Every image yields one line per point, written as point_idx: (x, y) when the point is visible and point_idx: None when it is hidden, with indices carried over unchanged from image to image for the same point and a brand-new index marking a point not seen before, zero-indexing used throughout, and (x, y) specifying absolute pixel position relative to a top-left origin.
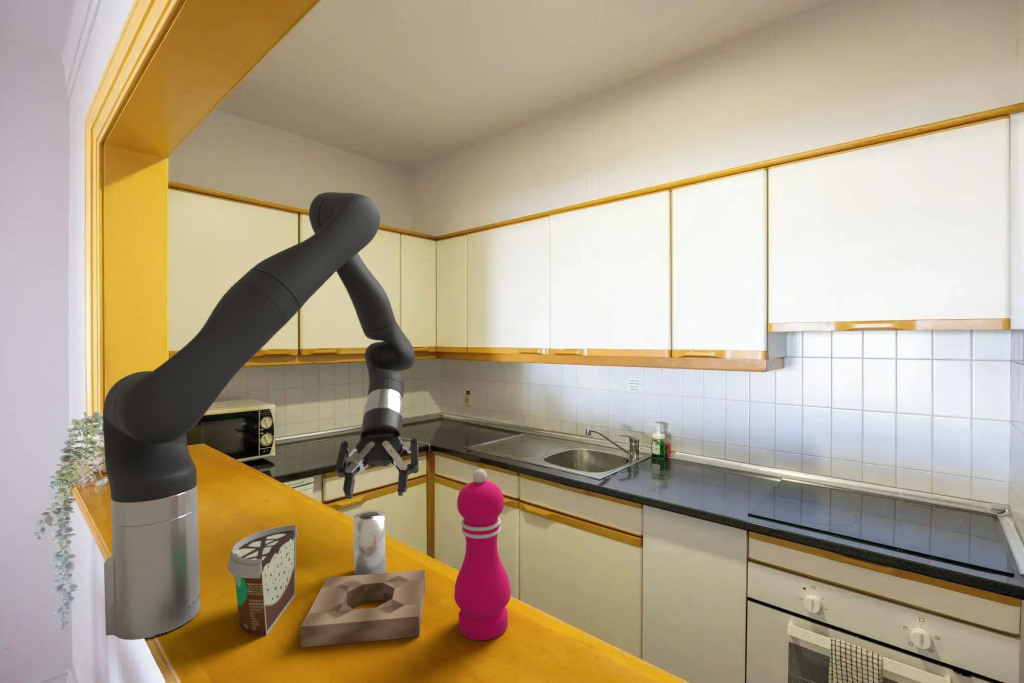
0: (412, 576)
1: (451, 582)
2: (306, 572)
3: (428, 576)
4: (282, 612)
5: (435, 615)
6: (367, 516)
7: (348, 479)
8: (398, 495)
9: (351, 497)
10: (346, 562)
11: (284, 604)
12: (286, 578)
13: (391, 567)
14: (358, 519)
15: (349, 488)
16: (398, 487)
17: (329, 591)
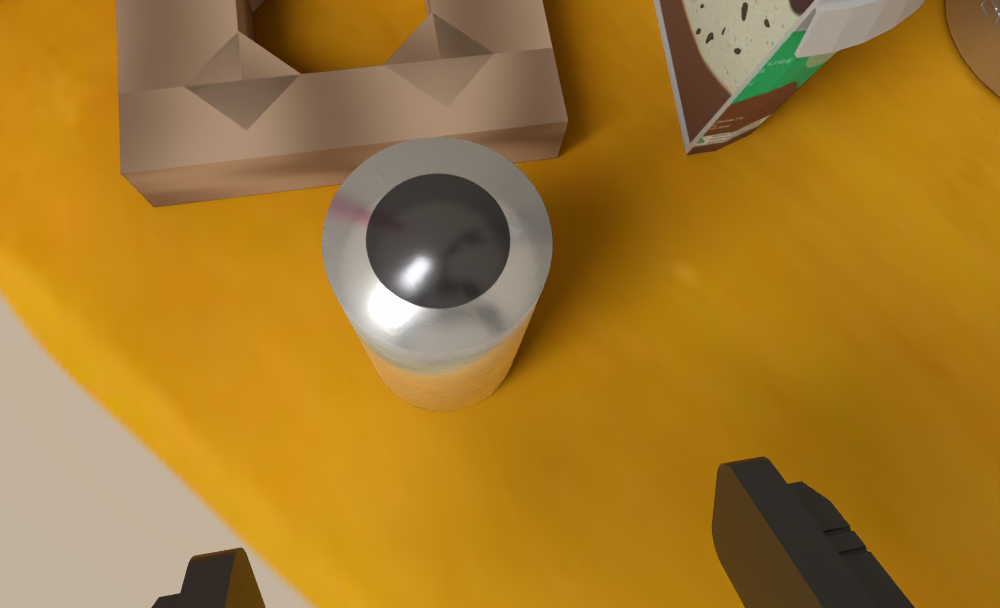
0: (175, 117)
1: (34, 242)
2: (750, 341)
3: (149, 297)
4: (664, 48)
5: (95, 21)
6: (443, 217)
7: (846, 573)
8: (264, 606)
9: (713, 513)
10: (604, 442)
11: (675, 59)
12: (711, 29)
13: (352, 387)
14: (493, 174)
15: (758, 486)
16: (223, 563)
17: (506, 17)
